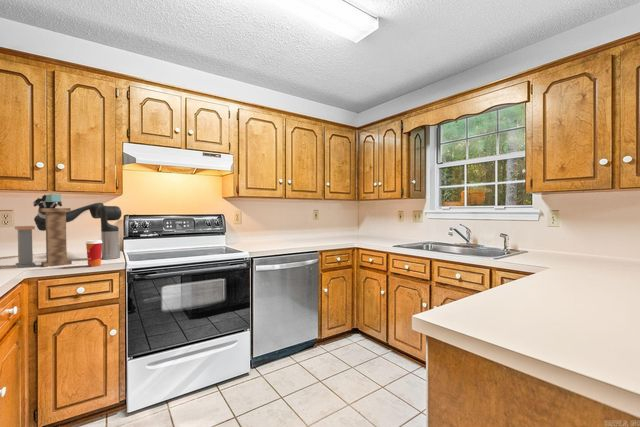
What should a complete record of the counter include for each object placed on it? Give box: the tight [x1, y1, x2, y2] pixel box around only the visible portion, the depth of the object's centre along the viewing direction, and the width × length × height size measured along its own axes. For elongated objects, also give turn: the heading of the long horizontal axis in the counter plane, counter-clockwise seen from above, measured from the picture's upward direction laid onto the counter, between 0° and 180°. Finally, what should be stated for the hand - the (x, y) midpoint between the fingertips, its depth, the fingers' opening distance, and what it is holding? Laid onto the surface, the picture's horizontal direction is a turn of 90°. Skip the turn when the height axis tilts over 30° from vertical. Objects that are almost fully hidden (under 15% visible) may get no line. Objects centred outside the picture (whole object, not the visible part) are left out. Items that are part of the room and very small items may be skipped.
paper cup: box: [85, 239, 103, 268], centre depth 174 cm, size 8×8×14 cm
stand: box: [40, 207, 72, 268], centre depth 178 cm, size 12×8×32 cm, turn 139°
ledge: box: [14, 225, 37, 269], centre depth 175 cm, size 7×12×22 cm, turn 49°
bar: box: [45, 193, 62, 203], centre depth 183 cm, size 4×24×4 cm, turn 48°
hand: (50, 196), depth 187 cm, fingers closed on bar, 4 cm apart
